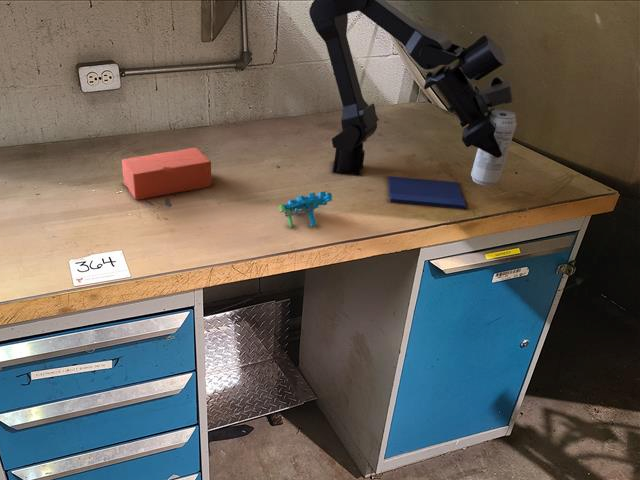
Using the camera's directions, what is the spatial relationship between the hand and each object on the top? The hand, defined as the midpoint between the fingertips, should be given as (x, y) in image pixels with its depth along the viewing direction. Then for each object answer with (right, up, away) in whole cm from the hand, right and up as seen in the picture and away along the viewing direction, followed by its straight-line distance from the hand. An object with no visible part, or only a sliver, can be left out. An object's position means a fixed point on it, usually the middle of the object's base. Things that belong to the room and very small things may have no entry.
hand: (499, 151), depth 128 cm
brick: (-72, -6, +9) cm, 73 cm away
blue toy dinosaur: (-42, -15, -3) cm, 45 cm away
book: (-13, -7, +9) cm, 17 cm away
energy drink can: (-2, -6, +5) cm, 7 cm away
